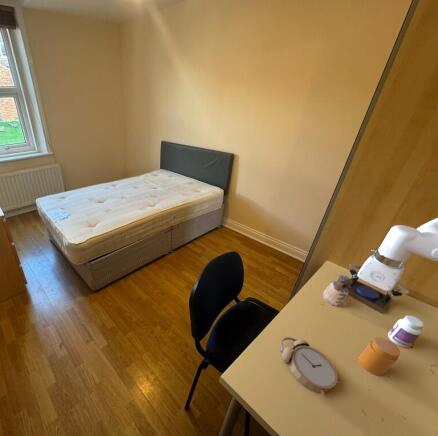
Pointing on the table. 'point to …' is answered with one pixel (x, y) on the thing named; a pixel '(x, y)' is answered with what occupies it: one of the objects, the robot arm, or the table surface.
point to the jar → (379, 356)
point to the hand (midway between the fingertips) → (367, 292)
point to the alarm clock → (309, 366)
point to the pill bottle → (406, 331)
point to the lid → (367, 293)
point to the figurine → (338, 291)
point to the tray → (375, 305)
